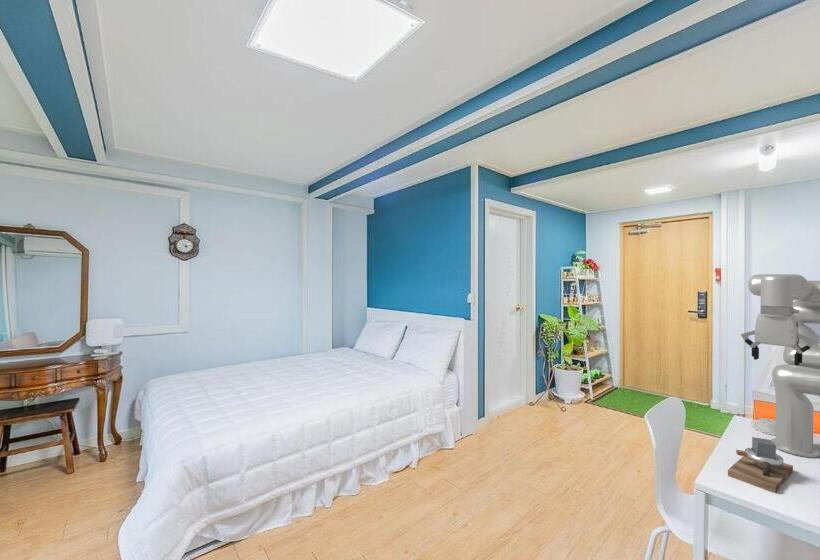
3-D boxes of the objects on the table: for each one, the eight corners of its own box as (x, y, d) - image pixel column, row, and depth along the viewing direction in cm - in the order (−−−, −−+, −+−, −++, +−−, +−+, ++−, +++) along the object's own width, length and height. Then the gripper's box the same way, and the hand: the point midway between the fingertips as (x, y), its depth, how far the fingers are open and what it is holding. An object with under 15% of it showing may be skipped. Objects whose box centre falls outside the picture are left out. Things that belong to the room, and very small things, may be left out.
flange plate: (775, 455, 117) (775, 438, 117) (789, 469, 109) (789, 450, 109) (732, 448, 123) (732, 431, 123) (741, 460, 115) (741, 442, 115)
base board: (748, 457, 126) (748, 440, 126) (792, 471, 116) (793, 453, 116) (727, 475, 115) (727, 457, 114) (775, 493, 105) (775, 473, 105)
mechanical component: (785, 430, 147) (752, 424, 153) (785, 420, 147) (752, 414, 153) (790, 439, 139) (755, 432, 145) (790, 428, 139) (755, 422, 145)
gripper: (817, 312, 112) (817, 365, 112) (744, 308, 127) (744, 355, 127) (813, 314, 108) (812, 369, 108) (738, 310, 122) (738, 358, 123)
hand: (776, 361), depth 118 cm, fingers open, 9 cm apart
